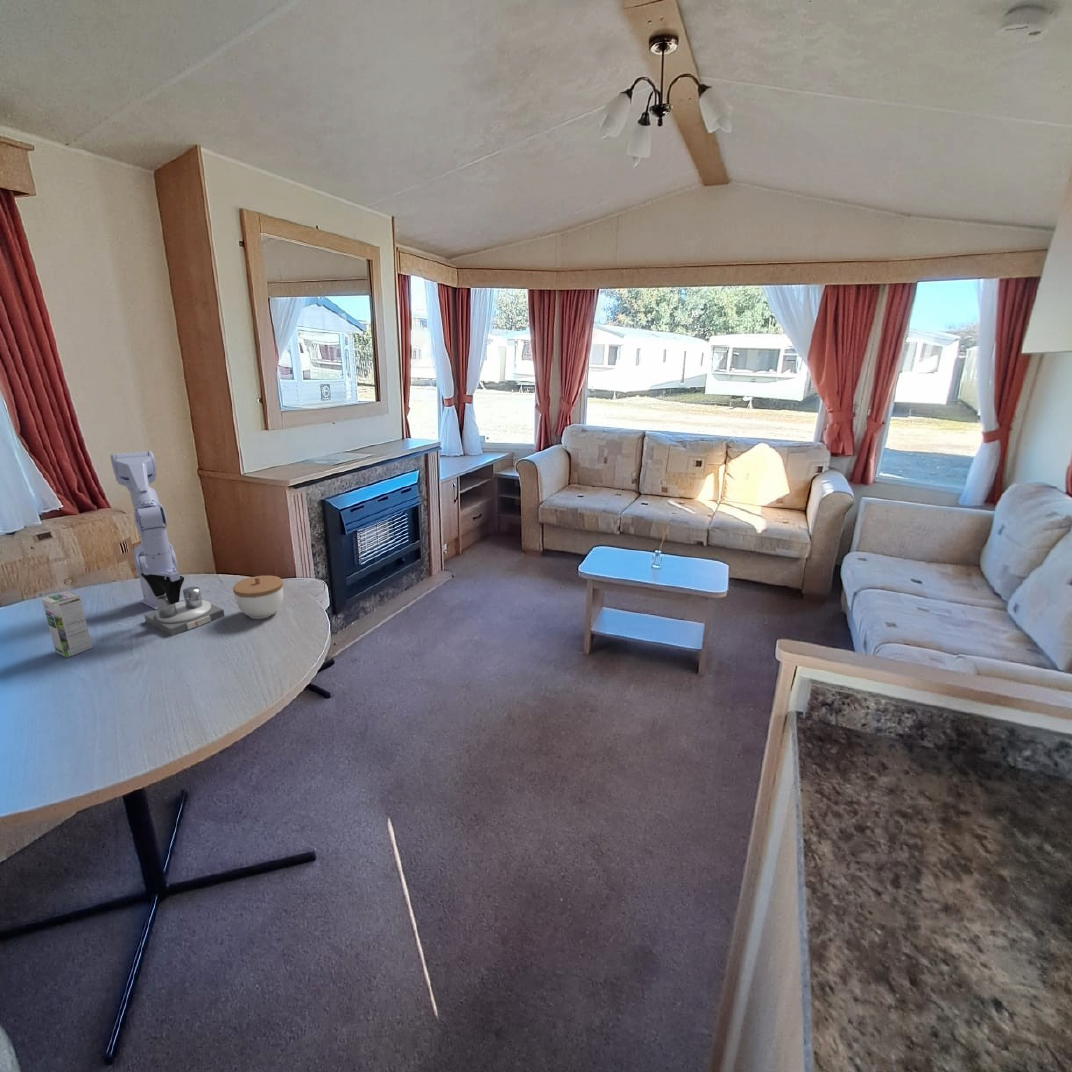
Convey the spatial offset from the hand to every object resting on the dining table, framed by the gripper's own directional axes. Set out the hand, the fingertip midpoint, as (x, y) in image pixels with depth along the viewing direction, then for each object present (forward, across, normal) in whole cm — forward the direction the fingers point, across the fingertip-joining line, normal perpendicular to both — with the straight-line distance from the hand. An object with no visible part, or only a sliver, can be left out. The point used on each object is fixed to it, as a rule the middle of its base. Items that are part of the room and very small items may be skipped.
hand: (167, 599), depth 152 cm
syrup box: (+8, -5, -20) cm, 22 cm away
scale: (+7, 0, +4) cm, 8 cm away
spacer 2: (+4, 0, +6) cm, 8 cm away
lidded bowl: (+8, +14, +18) cm, 24 cm away
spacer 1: (+4, 0, 0) cm, 5 cm away
